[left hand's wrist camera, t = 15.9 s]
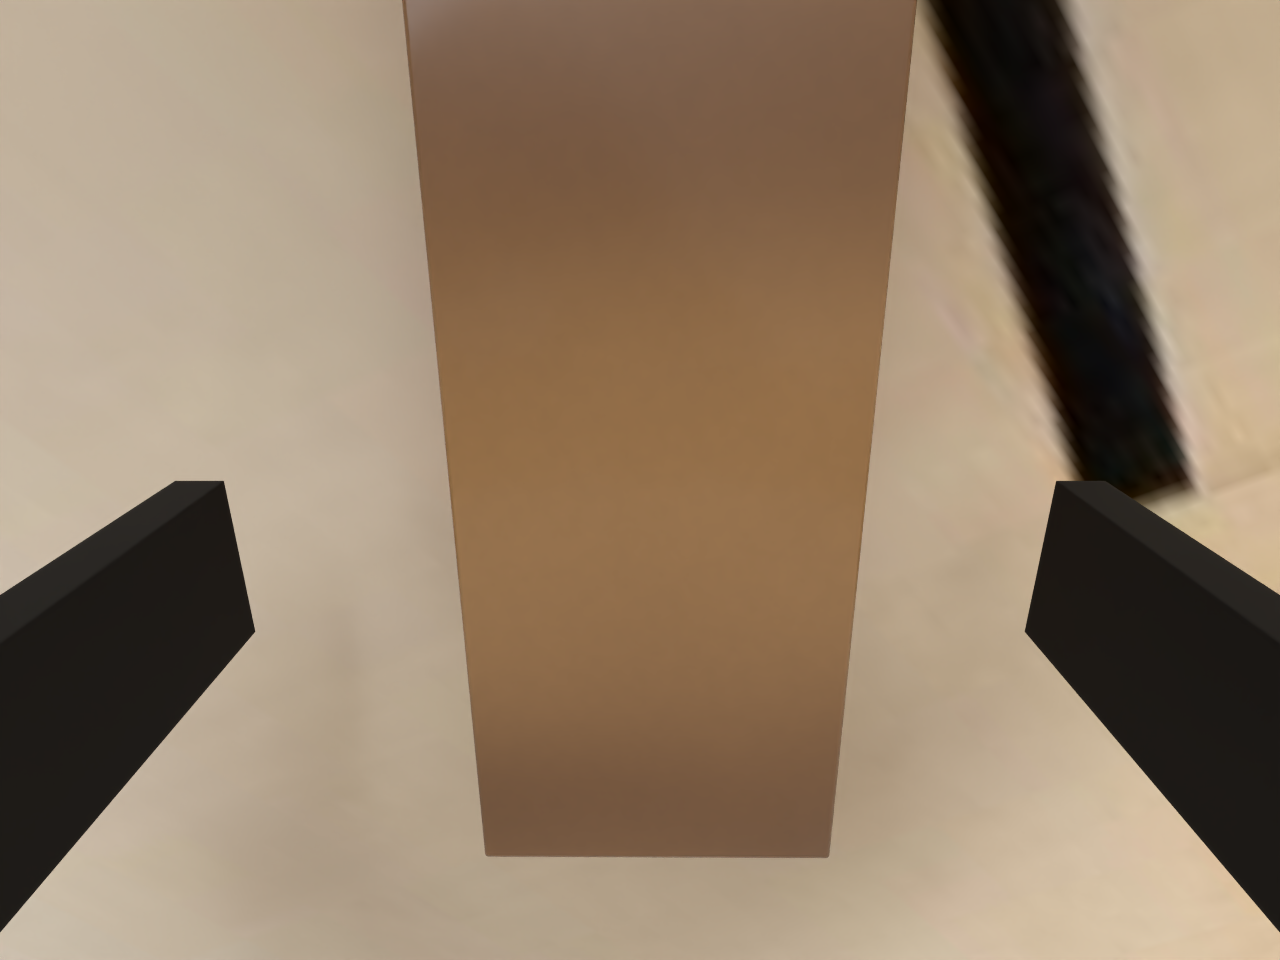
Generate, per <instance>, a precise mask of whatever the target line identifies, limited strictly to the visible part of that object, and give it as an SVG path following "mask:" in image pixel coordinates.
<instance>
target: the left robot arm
mask: <svg viewBox="0 0 1280 960" xmlns="http://www.w3.org/2000/svg"><path fill="white" fill-rule="evenodd" d="M254 632H255V628H254V624H253V619H252V614H251V609H250V604H249V600H248V595H247V590H246V585H245V580H244V576H243V571H242V566H241V561H240V557H239V552H238V547H237V542H236V537H235V533H234V528H233V523H232V518H231V513H230V509H229V504H228V499H227V494H226V490H225V485H224V481H174V482H173V483H171V484H170V485H168V486H167V487H165V488H164V489H162V490H161V491H159V492H158V493H156V494H155V495H153V496H151V497H150V498H148V499H147V500H145V501H144V502H142V503H141V504H139V505H138V506H136V507H135V508H133V509H132V510H130V511H128V512H127V513H125V514H124V515H122V516H121V517H119V518H118V519H116V520H115V521H113V522H112V523H110V524H109V525H107V526H105V527H104V528H102V529H101V530H99V531H98V532H96V533H95V534H93V535H92V536H90V537H89V538H87V539H85V540H84V541H82V542H81V543H79V544H78V545H76V546H75V547H73V548H72V549H70V550H69V551H67V552H66V553H64V554H62V555H61V556H59V557H58V558H56V559H55V560H53V561H52V562H50V563H49V564H47V565H46V566H44V567H43V568H41V569H39V570H38V571H36V572H35V573H33V574H32V575H30V576H29V577H27V578H26V579H24V580H23V581H21V582H20V583H18V584H16V585H15V586H13V587H12V588H10V589H9V590H7V591H6V592H4V593H3V594H1V595H0V932H1V931H2V930H3V928H4V927H5V926H6V925H7V924H8V922H9V921H10V920H11V919H12V918H13V917H14V915H15V914H16V913H17V912H18V911H19V910H20V908H21V907H22V906H23V905H24V904H25V902H26V901H27V900H28V899H29V898H30V897H31V895H32V894H33V893H34V892H35V891H36V889H37V888H38V887H39V886H40V885H41V884H42V882H43V881H44V880H45V879H46V878H47V877H48V875H49V874H50V873H51V872H52V871H53V869H54V868H55V867H56V866H57V865H58V864H59V862H60V861H61V860H62V859H63V858H64V856H65V855H66V854H67V853H68V852H69V851H70V849H71V848H72V847H73V846H74V845H75V843H76V842H77V841H78V840H79V839H80V838H81V836H82V835H83V834H84V833H85V832H86V831H87V829H88V828H89V827H90V826H91V825H92V823H93V822H94V821H95V820H96V819H97V818H98V816H99V815H100V814H101V813H102V812H103V810H104V809H105V808H106V807H107V806H108V805H109V803H110V802H111V801H112V800H113V799H114V798H115V796H116V795H117V794H118V793H119V792H120V790H121V789H122V788H123V787H124V786H125V785H126V783H127V782H128V781H129V780H130V779H131V777H132V776H133V775H134V774H135V773H136V772H137V770H138V769H139V768H140V767H141V766H142V765H143V763H144V762H145V761H146V760H147V759H148V757H149V756H150V755H151V754H152V753H153V752H154V750H155V749H156V748H157V747H158V746H159V744H160V743H161V742H162V741H163V740H164V739H165V737H166V736H167V735H168V734H169V733H170V731H171V730H172V729H173V728H174V727H175V726H176V724H177V723H178V722H179V721H180V720H181V719H182V717H183V716H184V715H185V714H186V713H187V711H188V710H189V709H190V708H191V707H192V706H193V704H194V703H195V702H196V701H197V700H198V698H199V697H200V696H201V695H202V694H203V693H204V691H205V690H206V689H207V688H208V687H209V686H210V684H211V683H212V682H213V681H214V680H215V678H216V677H217V676H218V675H219V674H220V673H221V671H222V670H223V669H224V668H225V667H226V665H227V664H228V663H229V662H230V661H231V660H232V658H233V657H234V656H235V655H236V654H237V653H238V651H239V650H240V649H241V648H242V647H243V645H244V644H245V643H246V642H247V641H248V640H249V638H250V637H251V636H252V635H253V634H254ZM1025 632H1026V634H1027V635H1028V636H1029V637H1030V638H1031V640H1032V641H1033V642H1034V643H1035V644H1036V645H1037V647H1038V648H1039V649H1040V650H1041V651H1042V653H1043V654H1044V655H1045V656H1046V657H1047V658H1048V660H1049V661H1050V662H1051V663H1052V664H1053V665H1054V667H1055V668H1056V669H1057V670H1058V671H1059V673H1060V674H1061V675H1062V676H1063V677H1064V678H1065V680H1066V681H1067V682H1068V683H1069V684H1070V686H1071V687H1072V688H1073V689H1074V690H1075V691H1076V693H1077V694H1078V695H1079V696H1080V697H1081V698H1082V700H1083V701H1084V702H1085V703H1086V704H1087V706H1088V707H1089V708H1090V709H1091V710H1092V711H1093V713H1094V714H1095V715H1096V716H1097V717H1098V719H1099V720H1100V721H1101V722H1102V723H1103V724H1104V726H1105V727H1106V728H1107V729H1108V730H1109V731H1110V733H1111V734H1112V735H1113V736H1114V737H1115V739H1116V740H1117V741H1118V742H1119V743H1120V744H1121V746H1122V747H1123V748H1124V749H1125V750H1126V752H1127V753H1128V754H1129V755H1130V756H1131V757H1132V759H1133V760H1134V761H1135V762H1136V763H1137V765H1138V766H1139V767H1140V768H1141V769H1142V770H1143V772H1144V773H1145V774H1146V775H1147V776H1148V777H1149V779H1150V780H1151V781H1152V782H1153V783H1154V785H1155V786H1156V787H1157V788H1158V789H1159V790H1160V792H1161V793H1162V794H1163V795H1164V796H1165V798H1166V799H1167V800H1168V801H1169V802H1170V803H1171V805H1172V806H1173V807H1174V808H1175V809H1176V810H1177V812H1178V813H1179V814H1180V815H1181V816H1182V818H1183V819H1184V820H1185V821H1186V822H1187V823H1188V825H1189V826H1190V827H1191V828H1192V829H1193V831H1194V832H1195V833H1196V834H1197V835H1198V836H1199V838H1200V839H1201V840H1202V841H1203V842H1204V843H1205V845H1206V846H1207V847H1208V848H1209V849H1210V851H1211V852H1212V853H1213V854H1214V855H1215V856H1216V858H1217V859H1218V860H1219V861H1220V862H1221V864H1222V865H1223V866H1224V867H1225V868H1226V869H1227V871H1228V872H1229V873H1230V874H1231V875H1232V877H1233V878H1234V879H1235V880H1236V881H1237V882H1238V884H1239V885H1240V886H1241V887H1242V888H1243V889H1244V891H1245V892H1246V893H1247V894H1248V895H1249V897H1250V898H1251V899H1252V900H1253V901H1254V902H1255V904H1256V905H1257V906H1258V907H1259V908H1260V910H1261V911H1262V912H1263V913H1264V914H1265V915H1266V917H1267V918H1268V919H1269V920H1270V921H1271V922H1272V924H1273V925H1274V926H1275V927H1276V928H1277V930H1278V931H1279V932H1280V595H1279V594H1277V593H1276V592H1274V591H1273V590H1271V589H1270V588H1268V587H1267V586H1265V585H1264V584H1262V583H1260V582H1259V581H1257V580H1256V579H1254V578H1253V577H1251V576H1250V575H1248V574H1247V573H1245V572H1244V571H1242V570H1241V569H1239V568H1237V567H1236V566H1234V565H1233V564H1231V563H1230V562H1228V561H1227V560H1225V559H1224V558H1222V557H1221V556H1219V555H1218V554H1216V553H1214V552H1213V551H1211V550H1210V549H1208V548H1207V547H1205V546H1204V545H1202V544H1201V543H1199V542H1198V541H1196V540H1195V539H1193V538H1191V537H1190V536H1188V535H1187V534H1185V533H1184V532H1182V531H1181V530H1179V529H1178V528H1176V527H1175V526H1173V525H1171V524H1170V523H1168V522H1167V521H1165V520H1164V519H1162V518H1161V517H1159V516H1158V515H1156V514H1155V513H1153V512H1152V511H1150V510H1148V509H1147V508H1145V507H1144V506H1142V505H1141V504H1139V503H1138V502H1136V501H1135V500H1133V499H1132V498H1130V497H1129V496H1127V495H1125V494H1124V493H1122V492H1121V491H1119V490H1118V489H1116V488H1115V487H1113V486H1112V485H1110V484H1109V483H1107V482H1106V481H1056V485H1055V490H1054V494H1053V499H1052V504H1051V509H1050V513H1049V518H1048V523H1047V528H1046V533H1045V537H1044V542H1043V547H1042V552H1041V557H1040V561H1039V566H1038V571H1037V576H1036V580H1035V585H1034V590H1033V595H1032V600H1031V604H1030V609H1029V614H1028V619H1027V624H1026V628H1025Z"/></svg>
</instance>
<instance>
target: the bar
mask: <svg viewBox="0 0 1280 960" xmlns="http://www.w3.org/2000/svg"><path fill="white" fill-rule="evenodd" d="M402 3H403V14H404V24H405V34H406V45H407V55H408V65H409V75H410V86H411V96H412V106H413V116H414V127H415V137H416V147H417V157H418V168H419V178H420V188H421V199H422V209H423V219H424V229H425V240H426V250H427V260H428V270H429V281H430V291H431V301H432V312H433V322H434V332H435V342H436V353H437V363H438V373H439V383H440V394H441V404H442V414H443V425H444V435H445V445H446V455H447V466H448V476H449V486H450V496H451V507H452V517H453V527H454V538H455V548H456V558H457V568H458V579H459V589H460V599H461V609H462V620H463V630H464V640H465V651H466V661H467V671H468V681H469V692H470V702H471V712H472V722H473V733H474V743H475V753H476V764H477V774H478V784H479V794H480V805H481V815H482V825H483V835H484V846H485V854H486V856H501V857H724V858H827V857H828V856H829V852H830V842H831V832H832V822H833V813H834V803H835V793H836V783H837V774H838V764H839V754H840V744H841V735H842V725H843V715H844V705H845V696H846V686H847V676H848V666H849V657H850V647H851V637H852V627H853V618H854V608H855V598H856V589H857V579H858V569H859V559H860V550H861V540H862V530H863V520H864V511H865V501H866V491H867V481H868V472H869V462H870V452H871V442H872V433H873V423H874V413H875V403H876V394H877V384H878V374H879V365H880V355H881V345H882V335H883V326H884V316H885V306H886V296H887V287H888V277H889V267H890V257H891V248H892V238H893V228H894V218H895V209H896V199H897V189H898V179H899V170H900V160H901V150H902V141H903V131H904V121H905V111H906V102H907V92H908V82H909V72H910V63H911V53H912V43H913V33H914V24H915V14H916V4H917V0H402Z"/></svg>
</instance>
